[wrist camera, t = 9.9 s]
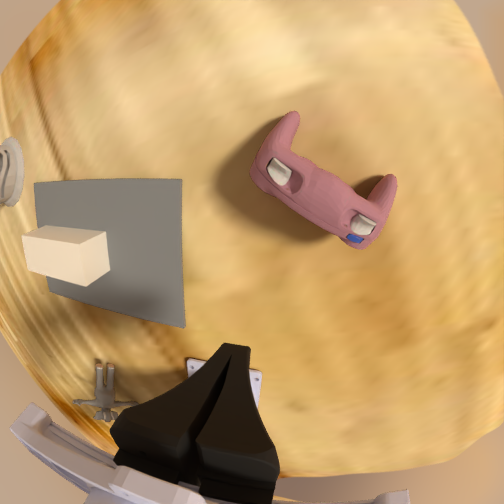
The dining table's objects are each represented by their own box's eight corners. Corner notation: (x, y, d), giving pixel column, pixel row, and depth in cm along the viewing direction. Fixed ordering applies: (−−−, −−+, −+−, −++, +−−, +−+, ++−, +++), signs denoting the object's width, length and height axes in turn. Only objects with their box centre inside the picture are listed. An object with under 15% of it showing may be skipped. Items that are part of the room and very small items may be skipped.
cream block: (86, 286, 21) (28, 269, 23) (110, 270, 25) (50, 257, 26) (79, 244, 20) (21, 235, 21) (105, 231, 24) (45, 225, 25)
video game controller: (265, 150, 21) (228, 192, 16) (290, 103, 18) (256, 129, 13) (367, 214, 21) (362, 274, 17) (401, 176, 18) (411, 231, 13)
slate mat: (185, 326, 26) (184, 328, 26) (51, 290, 29) (49, 291, 28) (182, 179, 21) (180, 179, 21) (36, 182, 24) (33, 183, 24)
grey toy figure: (146, 376, 30) (143, 427, 30) (135, 356, 35) (132, 404, 35) (70, 372, 24) (75, 427, 24) (69, 350, 29) (72, 402, 29)
